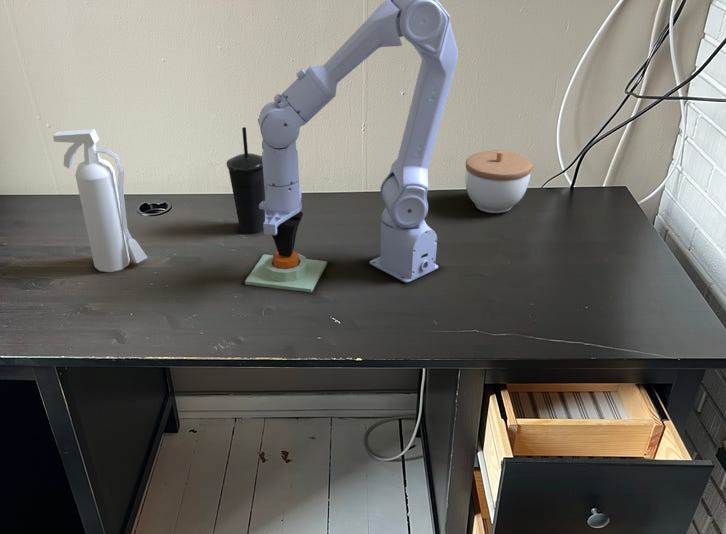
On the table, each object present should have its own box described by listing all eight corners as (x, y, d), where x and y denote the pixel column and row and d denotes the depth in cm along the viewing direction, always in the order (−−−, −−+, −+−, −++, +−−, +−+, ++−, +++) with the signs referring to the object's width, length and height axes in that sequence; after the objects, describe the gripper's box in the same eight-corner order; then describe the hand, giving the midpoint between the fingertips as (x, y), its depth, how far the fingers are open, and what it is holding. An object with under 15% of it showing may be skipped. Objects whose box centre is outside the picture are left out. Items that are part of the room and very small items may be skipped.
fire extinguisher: (141, 276, 131) (115, 138, 117) (79, 271, 134) (46, 136, 119) (154, 258, 137) (131, 124, 122) (94, 253, 139) (65, 122, 124)
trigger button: (301, 259, 129) (301, 250, 128) (294, 271, 126) (294, 262, 125) (278, 256, 130) (277, 248, 129) (270, 268, 127) (269, 260, 126)
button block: (326, 264, 132) (326, 252, 130) (311, 292, 124) (311, 279, 122) (263, 257, 135) (262, 245, 133) (245, 284, 127) (243, 272, 126)
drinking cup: (273, 220, 147) (267, 120, 135) (269, 237, 141) (262, 134, 129) (236, 220, 148) (226, 121, 136) (230, 237, 142) (219, 135, 130)
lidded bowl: (537, 213, 144) (547, 159, 137) (478, 222, 142) (484, 168, 135) (507, 189, 154) (515, 137, 147) (451, 197, 152) (456, 145, 145)
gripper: (272, 161, 126) (277, 233, 134) (242, 195, 115) (250, 272, 123) (311, 164, 124) (314, 237, 132) (285, 199, 113) (290, 276, 121)
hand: (285, 254), depth 127 cm, fingers closed
